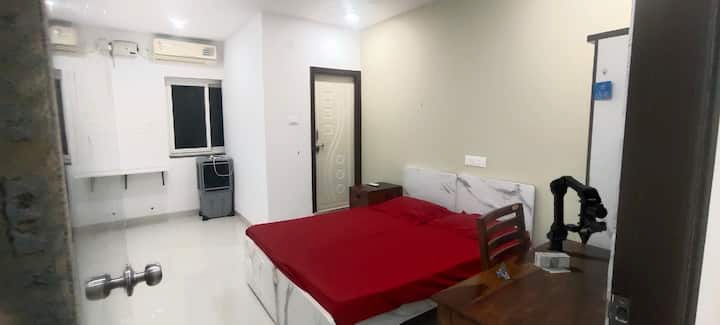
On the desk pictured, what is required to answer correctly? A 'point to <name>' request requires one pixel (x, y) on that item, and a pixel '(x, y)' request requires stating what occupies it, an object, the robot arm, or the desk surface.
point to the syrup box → (552, 260)
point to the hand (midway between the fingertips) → (584, 244)
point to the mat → (555, 269)
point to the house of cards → (502, 272)
